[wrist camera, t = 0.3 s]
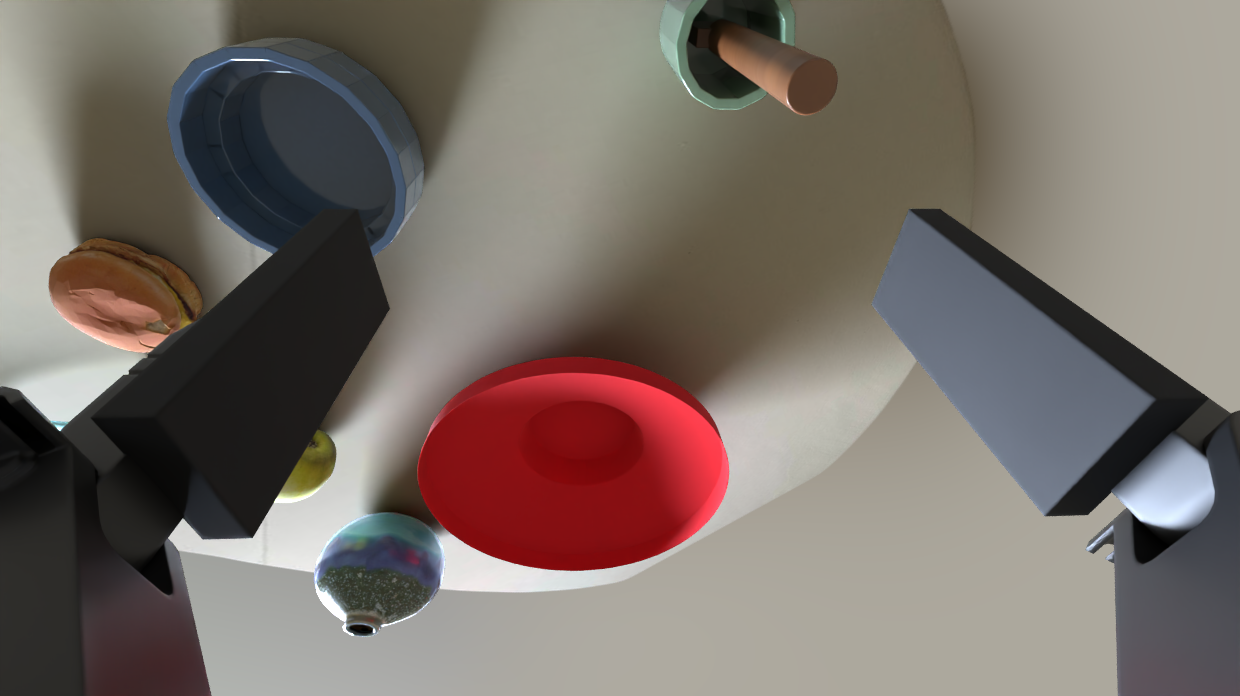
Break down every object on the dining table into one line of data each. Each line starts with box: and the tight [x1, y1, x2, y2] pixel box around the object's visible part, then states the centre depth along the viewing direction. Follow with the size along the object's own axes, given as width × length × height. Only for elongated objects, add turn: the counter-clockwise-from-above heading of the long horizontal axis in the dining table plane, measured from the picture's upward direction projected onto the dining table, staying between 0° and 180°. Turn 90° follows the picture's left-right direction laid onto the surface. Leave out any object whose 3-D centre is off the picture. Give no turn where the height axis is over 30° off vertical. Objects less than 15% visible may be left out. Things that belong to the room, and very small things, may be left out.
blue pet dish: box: [167, 38, 425, 257], centre depth 35 cm, size 14×14×6 cm
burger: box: [49, 238, 203, 353], centre depth 42 cm, size 10×9×5 cm
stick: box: [688, 19, 838, 115], centre depth 25 cm, size 2×3×20 cm, turn 89°
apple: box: [274, 430, 336, 503], centre depth 53 cm, size 8×9×8 cm
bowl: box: [418, 357, 729, 571], centre depth 52 cm, size 30×30×10 cm
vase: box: [314, 512, 445, 637], centre depth 63 cm, size 15×15×13 cm
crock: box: [660, 0, 795, 110], centre depth 30 cm, size 6×6×9 cm
